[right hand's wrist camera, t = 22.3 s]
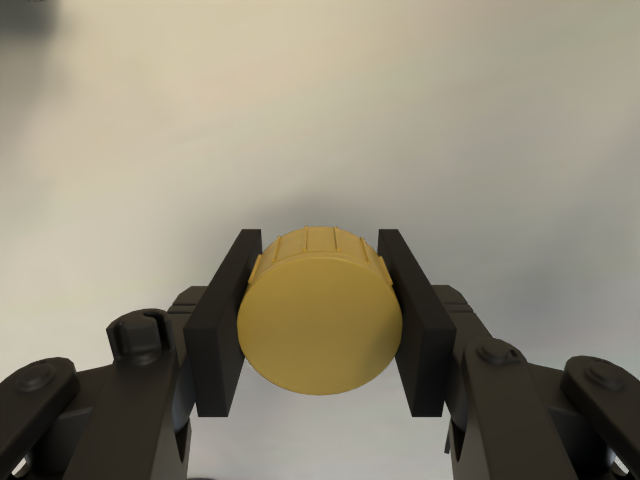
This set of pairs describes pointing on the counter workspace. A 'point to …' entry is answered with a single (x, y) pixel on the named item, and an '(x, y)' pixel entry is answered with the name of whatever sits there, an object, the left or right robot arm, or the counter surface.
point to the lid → (319, 312)
